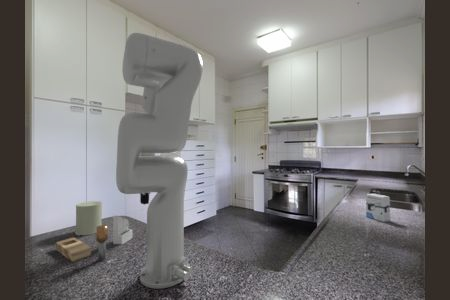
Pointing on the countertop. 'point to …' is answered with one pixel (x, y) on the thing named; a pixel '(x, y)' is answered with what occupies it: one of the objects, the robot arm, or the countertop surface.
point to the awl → (101, 241)
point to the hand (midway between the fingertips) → (144, 203)
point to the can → (88, 217)
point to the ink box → (378, 207)
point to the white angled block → (121, 230)
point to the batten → (73, 249)
